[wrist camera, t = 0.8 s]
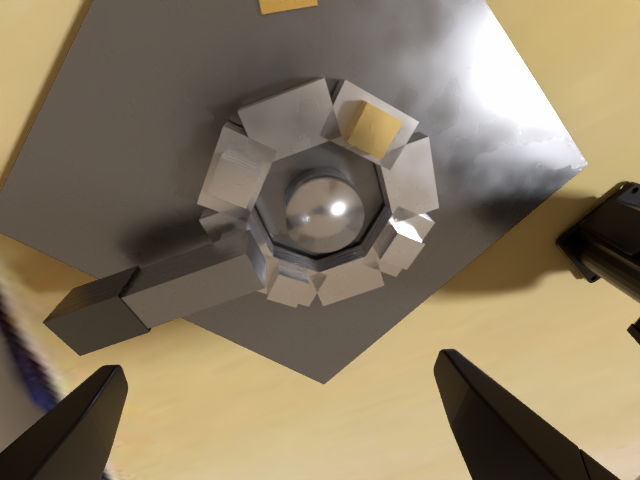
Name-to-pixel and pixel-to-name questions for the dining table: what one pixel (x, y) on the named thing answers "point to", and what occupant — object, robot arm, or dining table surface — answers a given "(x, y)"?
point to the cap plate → (289, 172)
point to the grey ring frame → (248, 231)
